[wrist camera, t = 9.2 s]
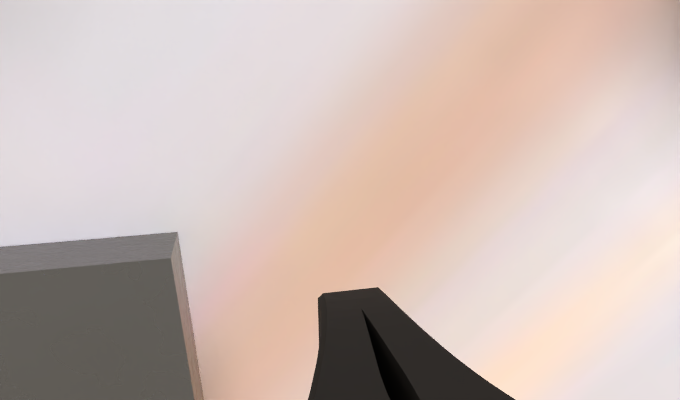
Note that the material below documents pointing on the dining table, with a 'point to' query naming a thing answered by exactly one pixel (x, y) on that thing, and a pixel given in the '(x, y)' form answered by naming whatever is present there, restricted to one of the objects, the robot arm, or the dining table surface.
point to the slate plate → (96, 321)
